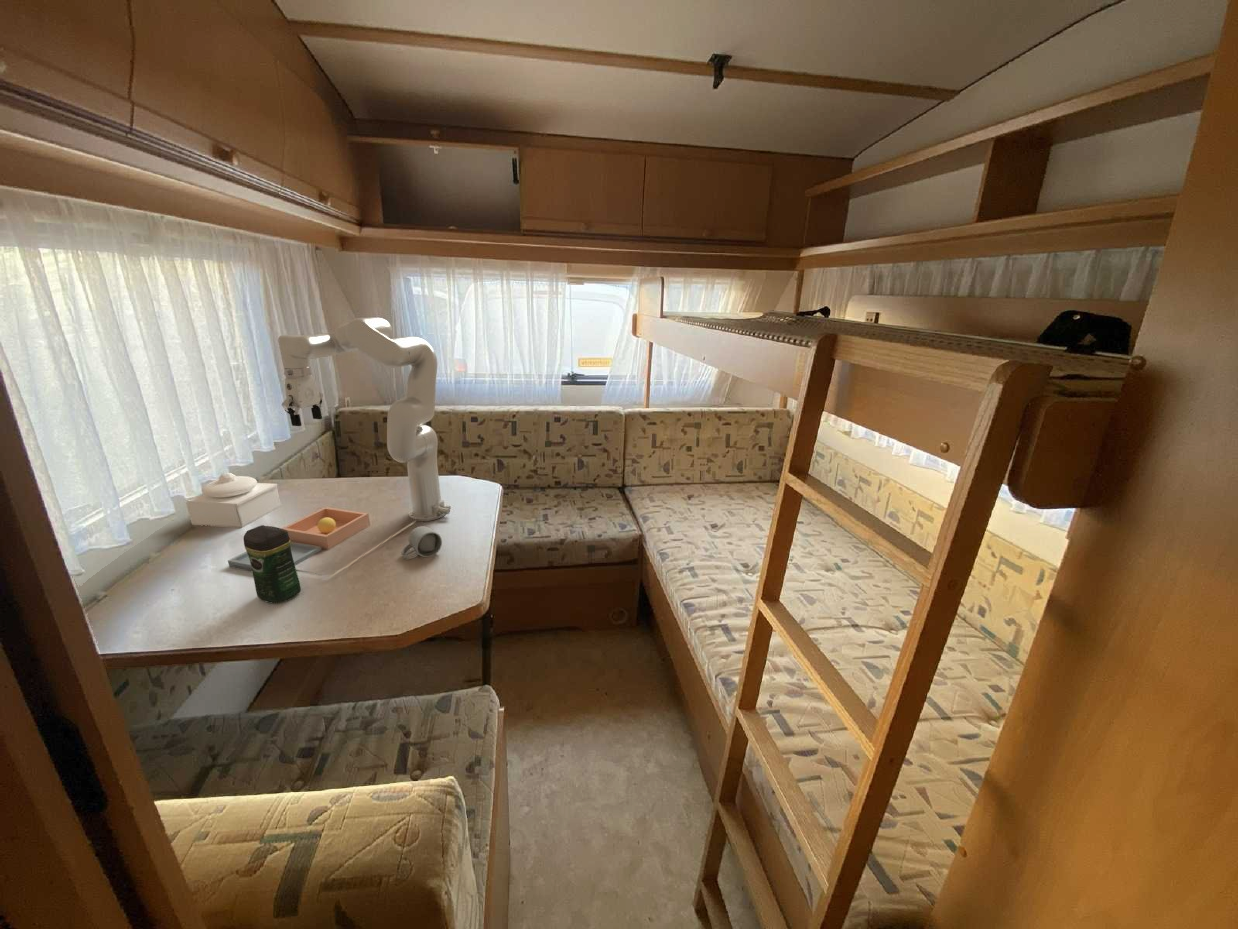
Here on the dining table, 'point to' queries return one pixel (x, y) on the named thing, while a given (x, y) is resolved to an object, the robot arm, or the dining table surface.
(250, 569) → the grey tray
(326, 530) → the ochre ball
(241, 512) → the white box with knob
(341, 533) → the terracotta dish
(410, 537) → the ceramic mug
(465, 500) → the dining table surface
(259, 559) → the coffee jar
